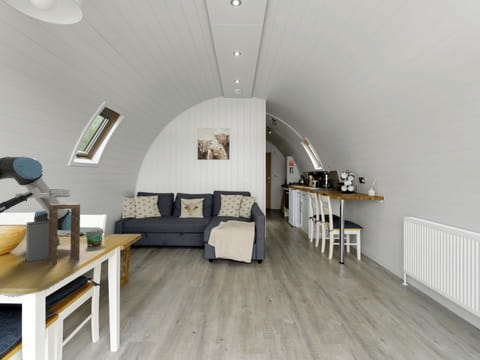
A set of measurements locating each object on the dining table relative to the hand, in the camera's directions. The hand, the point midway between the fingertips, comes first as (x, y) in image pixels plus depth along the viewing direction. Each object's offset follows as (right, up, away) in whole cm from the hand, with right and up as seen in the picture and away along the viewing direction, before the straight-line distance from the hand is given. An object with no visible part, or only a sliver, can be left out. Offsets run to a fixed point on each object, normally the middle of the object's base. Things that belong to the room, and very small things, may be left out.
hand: (38, 190), depth 128 cm
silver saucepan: (+2, -4, +2) cm, 4 cm away
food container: (+8, -38, +38) cm, 54 cm away
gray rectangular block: (-8, -38, +11) cm, 40 cm away
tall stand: (+7, -38, +8) cm, 39 cm away
